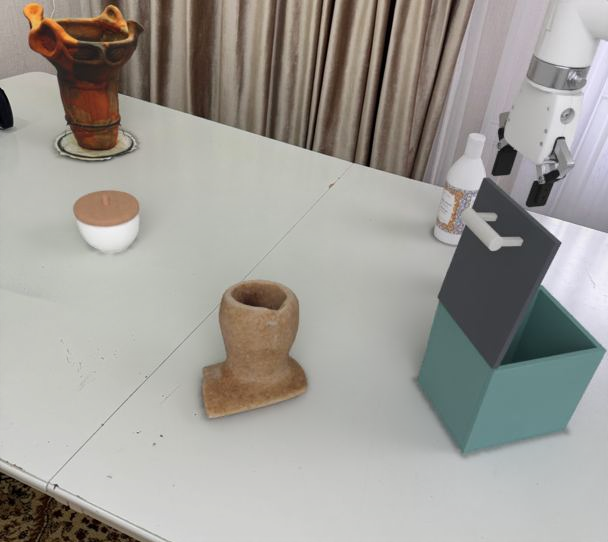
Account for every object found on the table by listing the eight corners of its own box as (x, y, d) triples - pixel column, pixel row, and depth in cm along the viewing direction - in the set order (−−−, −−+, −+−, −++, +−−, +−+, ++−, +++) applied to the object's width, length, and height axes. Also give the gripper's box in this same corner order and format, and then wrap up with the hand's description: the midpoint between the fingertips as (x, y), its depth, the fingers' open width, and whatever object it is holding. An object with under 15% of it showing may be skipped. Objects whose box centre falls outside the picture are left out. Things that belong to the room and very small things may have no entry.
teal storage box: (510, 364, 93) (541, 284, 84) (564, 431, 84) (607, 350, 74) (416, 382, 89) (438, 300, 79) (462, 454, 80) (493, 372, 70)
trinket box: (83, 264, 105) (73, 215, 99) (78, 232, 112) (69, 184, 106) (147, 256, 108) (141, 208, 102) (139, 225, 115) (133, 178, 109)
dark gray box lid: (489, 177, 69) (451, 176, 67) (562, 242, 59) (520, 243, 58) (442, 297, 79) (408, 298, 77) (498, 368, 70) (461, 372, 68)
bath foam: (426, 230, 121) (449, 130, 108) (455, 225, 123) (482, 126, 110) (445, 249, 116) (472, 146, 103) (476, 243, 119) (505, 142, 105)
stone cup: (284, 346, 93) (290, 263, 83) (316, 401, 85) (326, 316, 75) (185, 368, 88) (178, 282, 78) (208, 429, 80) (203, 341, 70)
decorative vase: (170, 146, 141) (159, 10, 123) (79, 175, 128) (52, 27, 109) (117, 117, 151) (100, -13, 132) (28, 141, 138) (-5, 0, 119)
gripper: (622, 96, 78) (571, 216, 89) (543, 51, 90) (507, 162, 101) (572, 98, 76) (527, 221, 87) (498, 52, 88) (467, 165, 99)
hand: (517, 189), depth 94 cm, fingers open, 9 cm apart
